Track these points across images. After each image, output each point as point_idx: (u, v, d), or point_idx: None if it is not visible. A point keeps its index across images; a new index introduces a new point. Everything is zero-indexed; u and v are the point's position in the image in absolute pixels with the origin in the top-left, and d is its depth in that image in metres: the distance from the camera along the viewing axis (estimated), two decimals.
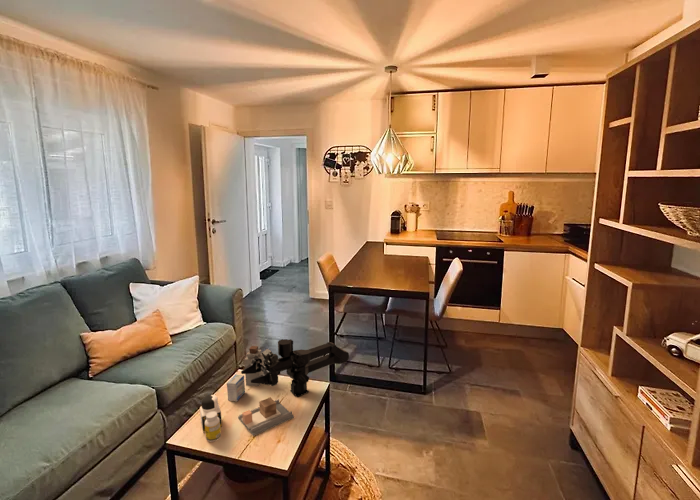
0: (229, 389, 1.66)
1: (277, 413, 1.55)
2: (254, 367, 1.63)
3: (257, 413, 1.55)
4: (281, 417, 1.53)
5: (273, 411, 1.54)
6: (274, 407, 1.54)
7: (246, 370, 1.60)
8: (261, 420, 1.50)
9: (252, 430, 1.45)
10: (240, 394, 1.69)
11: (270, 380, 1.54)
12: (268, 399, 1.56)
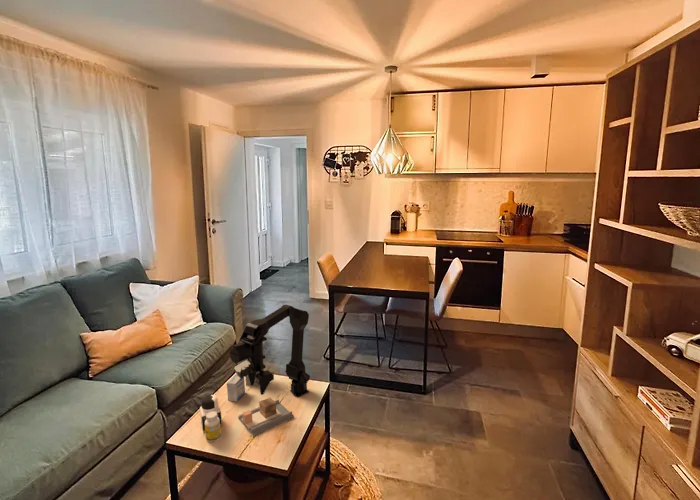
0: (229, 389, 1.66)
1: (277, 413, 1.55)
2: None
3: (257, 413, 1.55)
4: (281, 417, 1.53)
5: (273, 411, 1.54)
6: (274, 407, 1.54)
7: (251, 380, 1.55)
8: (261, 420, 1.50)
9: (252, 430, 1.45)
10: (240, 394, 1.69)
11: None
12: (268, 399, 1.56)
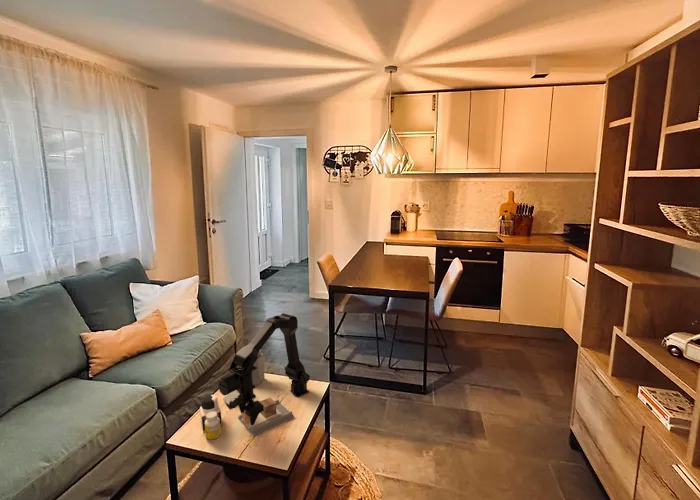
0: None
1: (277, 413, 1.55)
2: None
3: None
4: (281, 417, 1.53)
5: (273, 411, 1.54)
6: (274, 407, 1.54)
7: (241, 408, 1.52)
8: (261, 420, 1.50)
9: (252, 430, 1.45)
10: None
11: None
12: (268, 399, 1.56)
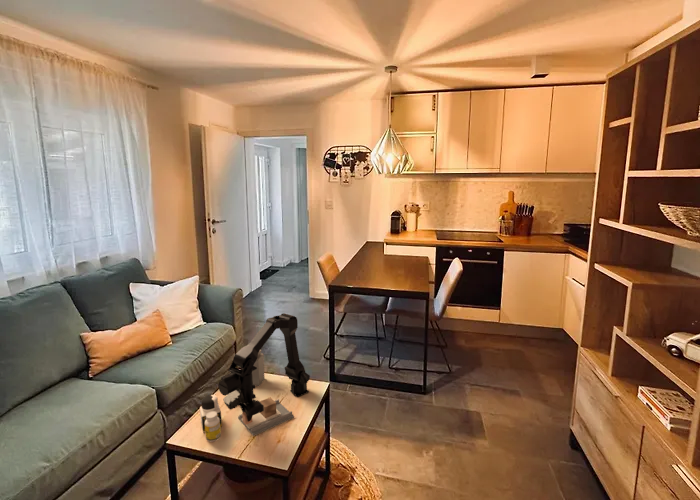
0: None
1: (277, 413, 1.55)
2: (244, 402, 1.50)
3: None
4: (281, 417, 1.53)
5: (273, 411, 1.54)
6: (274, 407, 1.54)
7: None
8: (261, 420, 1.50)
9: (252, 430, 1.45)
10: None
11: None
12: (268, 399, 1.56)
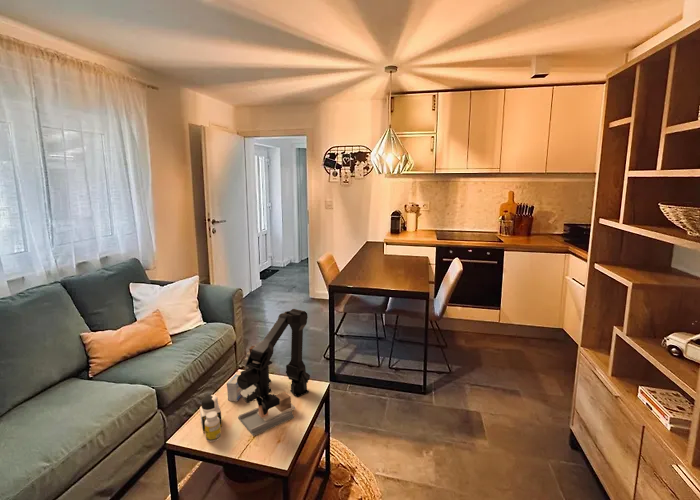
0: (229, 389, 1.66)
1: (292, 407, 1.59)
2: (260, 396, 1.54)
3: (272, 407, 1.59)
4: (281, 417, 1.53)
5: (288, 405, 1.58)
6: (289, 401, 1.58)
7: None
8: (276, 413, 1.55)
9: (252, 430, 1.45)
10: (240, 394, 1.69)
11: None
12: (283, 393, 1.60)
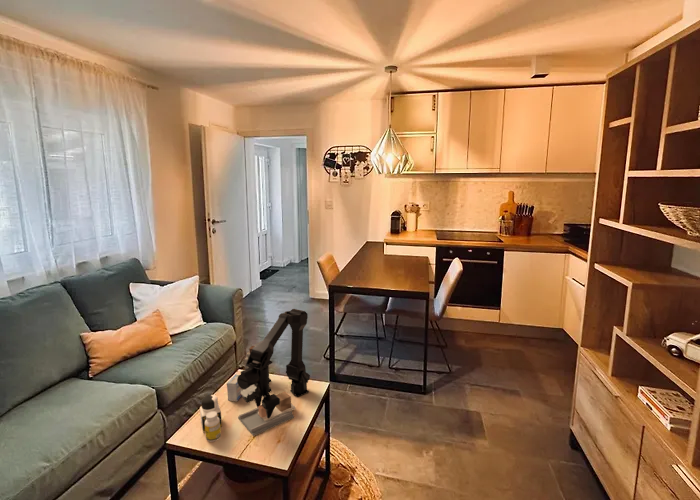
0: (229, 389, 1.66)
1: (292, 407, 1.59)
2: None
3: None
4: (281, 417, 1.53)
5: (288, 405, 1.58)
6: (289, 401, 1.58)
7: (257, 402, 1.57)
8: (277, 413, 1.55)
9: (252, 430, 1.45)
10: (240, 394, 1.69)
11: None
12: (283, 393, 1.60)
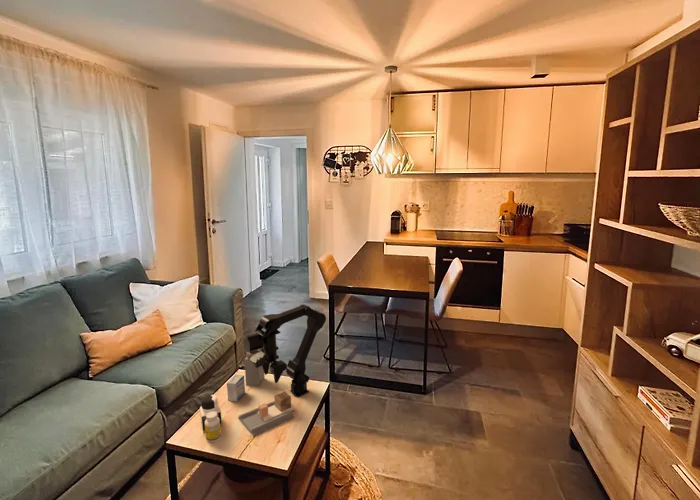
0: (229, 389, 1.66)
1: (292, 407, 1.59)
2: (264, 360, 1.66)
3: (272, 407, 1.59)
4: (281, 417, 1.53)
5: (288, 405, 1.58)
6: (289, 401, 1.58)
7: (265, 369, 1.66)
8: (277, 413, 1.55)
9: (252, 430, 1.45)
10: (240, 394, 1.69)
11: None
12: (283, 393, 1.60)
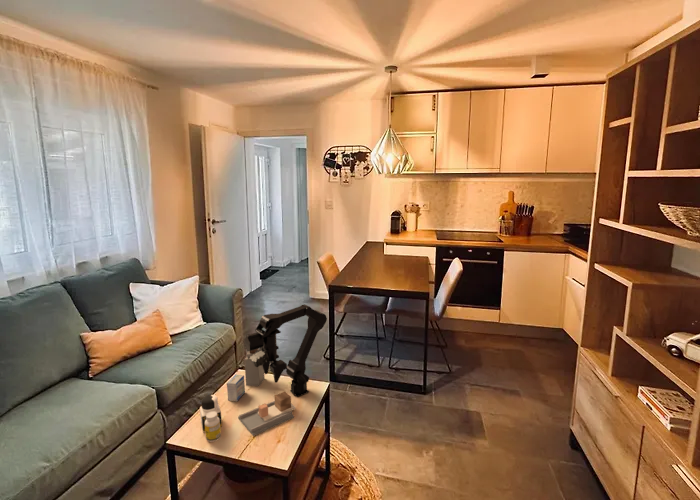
0: (229, 389, 1.66)
1: (292, 407, 1.59)
2: (264, 360, 1.66)
3: (272, 407, 1.59)
4: (281, 417, 1.53)
5: (288, 405, 1.58)
6: (289, 401, 1.58)
7: (265, 369, 1.66)
8: (277, 413, 1.55)
9: (252, 430, 1.45)
10: (240, 394, 1.69)
11: None
12: (283, 393, 1.60)
